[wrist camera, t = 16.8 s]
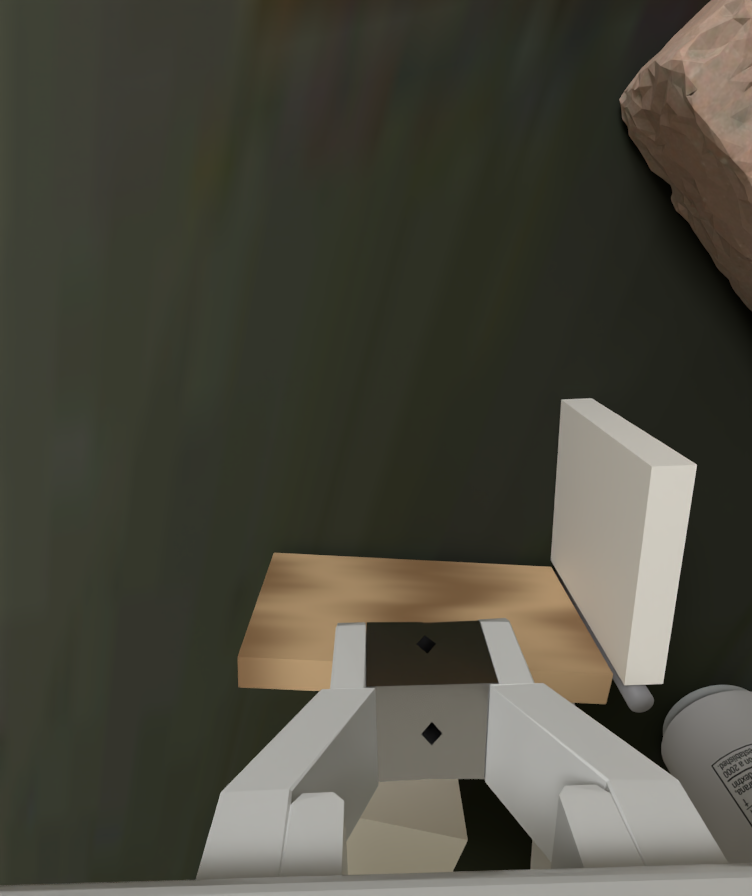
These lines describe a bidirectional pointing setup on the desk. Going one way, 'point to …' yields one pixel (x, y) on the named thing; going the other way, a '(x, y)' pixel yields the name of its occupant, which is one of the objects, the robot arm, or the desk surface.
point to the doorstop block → (409, 829)
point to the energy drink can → (715, 762)
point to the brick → (703, 131)
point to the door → (413, 617)
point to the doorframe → (619, 543)
